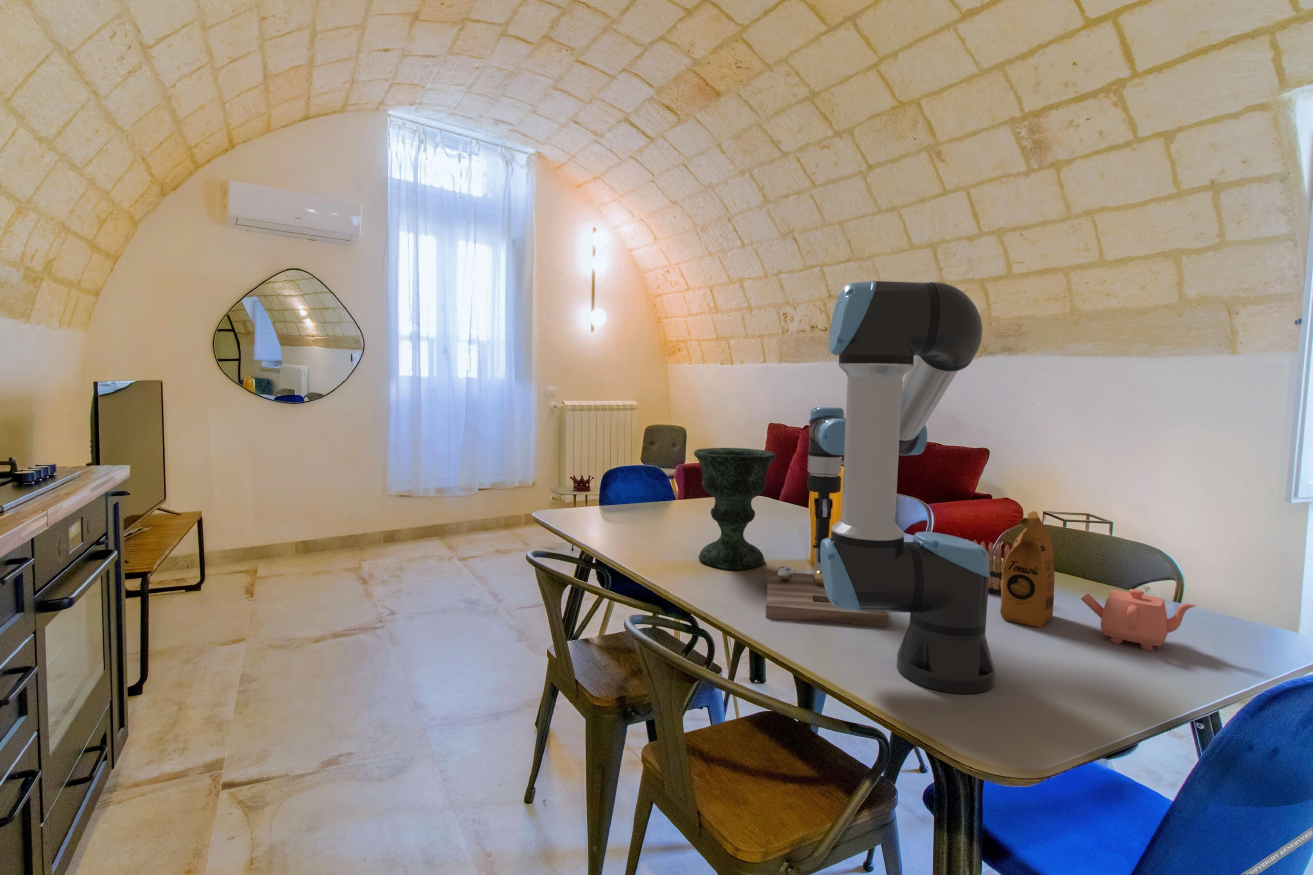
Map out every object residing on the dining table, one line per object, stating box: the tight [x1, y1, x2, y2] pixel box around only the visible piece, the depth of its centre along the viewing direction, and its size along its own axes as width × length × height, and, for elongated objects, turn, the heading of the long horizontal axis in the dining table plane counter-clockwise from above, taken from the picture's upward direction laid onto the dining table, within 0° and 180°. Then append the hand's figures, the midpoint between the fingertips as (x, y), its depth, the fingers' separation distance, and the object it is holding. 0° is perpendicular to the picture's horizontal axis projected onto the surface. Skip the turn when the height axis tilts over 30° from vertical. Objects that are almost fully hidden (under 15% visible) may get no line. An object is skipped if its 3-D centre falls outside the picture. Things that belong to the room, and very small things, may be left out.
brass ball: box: [813, 570, 824, 585], centre depth 153 cm, size 4×4×4 cm
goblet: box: [693, 447, 777, 571], centre depth 181 cm, size 22×23×30 cm
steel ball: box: [777, 565, 794, 581], centre depth 156 cm, size 4×4×4 cm
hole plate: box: [765, 570, 888, 628], centre depth 149 cm, size 26×24×2 cm
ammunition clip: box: [965, 538, 1010, 596], centre depth 159 cm, size 11×2×12 cm, turn 52°
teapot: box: [1080, 588, 1198, 652], centre depth 129 cm, size 14×12×10 cm
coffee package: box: [999, 511, 1055, 629], centre depth 141 cm, size 10×12×22 cm
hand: (820, 574), depth 155 cm, fingers closed
